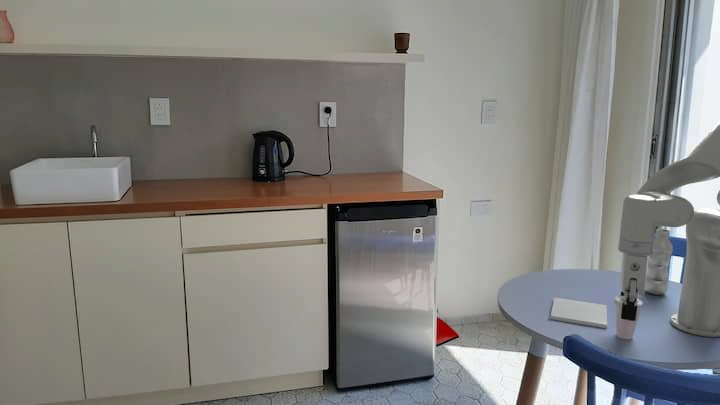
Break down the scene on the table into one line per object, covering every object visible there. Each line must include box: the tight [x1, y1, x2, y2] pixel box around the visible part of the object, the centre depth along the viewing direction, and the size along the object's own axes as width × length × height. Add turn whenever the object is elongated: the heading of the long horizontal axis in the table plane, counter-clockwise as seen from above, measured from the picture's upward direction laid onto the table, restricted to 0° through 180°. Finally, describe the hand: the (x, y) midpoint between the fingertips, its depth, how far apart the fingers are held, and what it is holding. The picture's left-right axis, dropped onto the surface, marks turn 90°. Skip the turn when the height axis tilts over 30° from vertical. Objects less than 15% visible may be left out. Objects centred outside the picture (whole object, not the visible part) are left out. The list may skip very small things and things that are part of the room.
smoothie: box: [613, 295, 644, 340], centre depth 133 cm, size 6×6×14 cm
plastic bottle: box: [645, 228, 674, 296], centre depth 161 cm, size 6×7×20 cm
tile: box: [549, 297, 608, 329], centre depth 148 cm, size 14×14×1 cm
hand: (627, 312), depth 134 cm, fingers open, 7 cm apart
